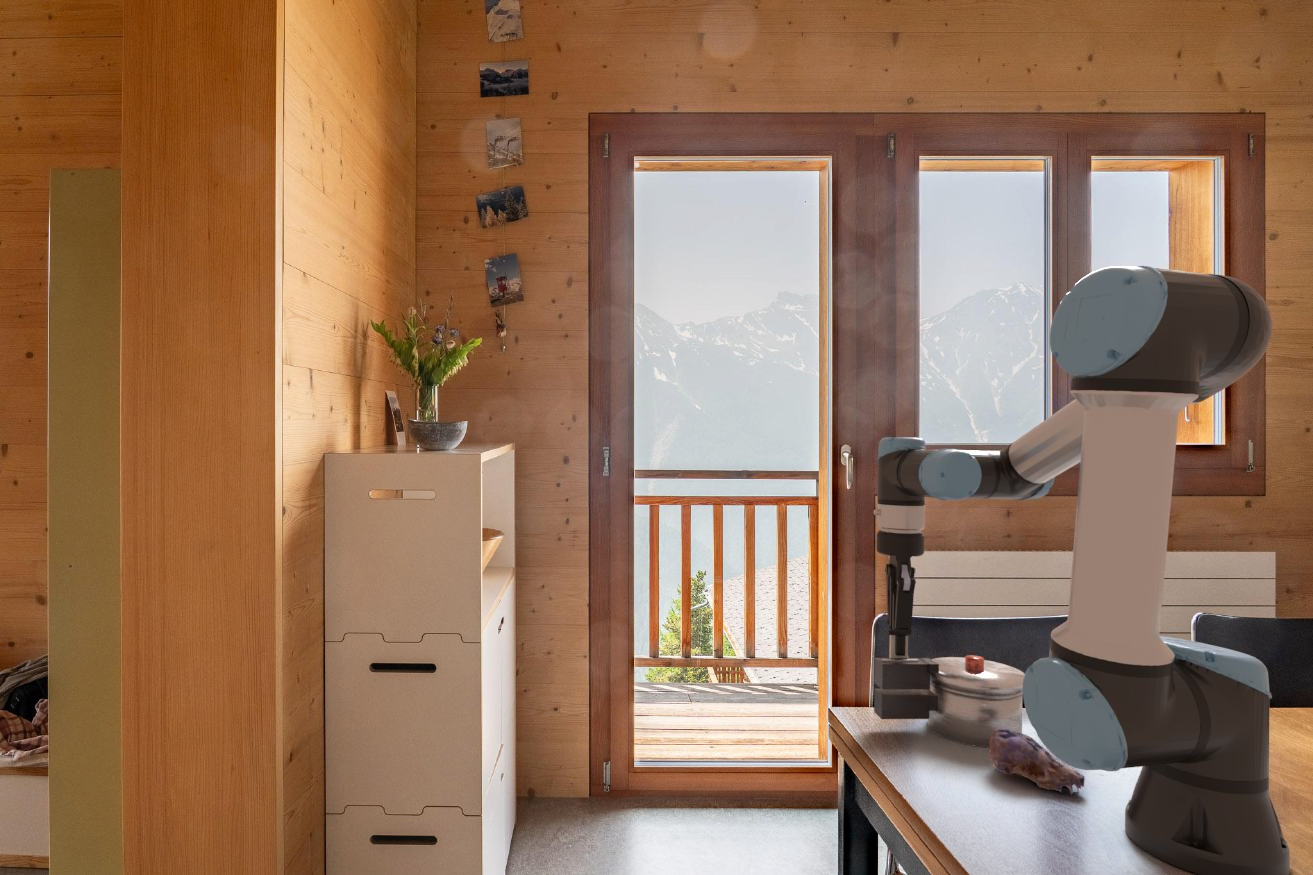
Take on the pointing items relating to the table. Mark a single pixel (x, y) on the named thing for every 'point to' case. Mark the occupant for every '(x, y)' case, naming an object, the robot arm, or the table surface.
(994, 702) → the pot
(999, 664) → the lid
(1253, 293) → the robot arm
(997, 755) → the skull
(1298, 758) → the table surface
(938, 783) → the table surface
